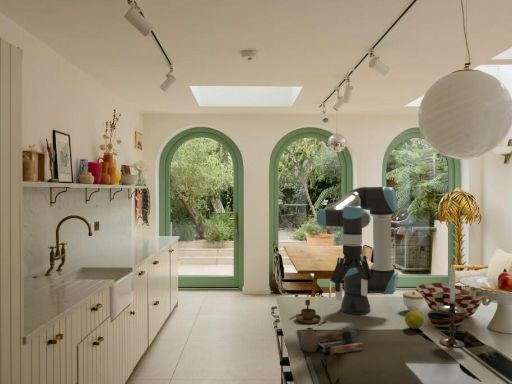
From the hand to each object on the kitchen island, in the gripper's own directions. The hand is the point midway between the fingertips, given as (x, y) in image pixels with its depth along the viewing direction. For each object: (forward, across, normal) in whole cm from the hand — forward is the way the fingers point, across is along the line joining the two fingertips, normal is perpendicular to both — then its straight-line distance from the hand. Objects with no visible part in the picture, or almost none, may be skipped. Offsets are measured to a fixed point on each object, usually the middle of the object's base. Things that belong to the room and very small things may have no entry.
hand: (351, 297), depth 170 cm
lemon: (+19, -39, -1) cm, 43 cm away
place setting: (+20, -10, -37) cm, 43 cm away
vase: (+19, +18, -4) cm, 27 cm away
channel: (+19, +6, -2) cm, 20 cm away
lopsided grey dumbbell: (+19, +10, -2) cm, 22 cm away
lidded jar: (+19, -64, -21) cm, 70 cm away
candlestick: (+19, -36, +20) cm, 45 cm away
